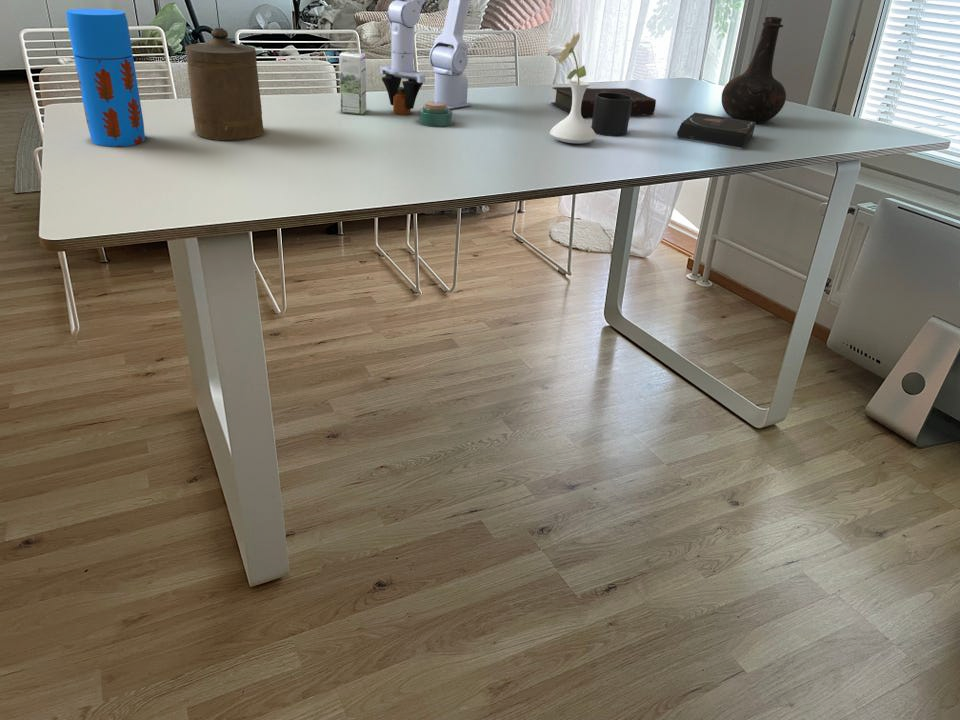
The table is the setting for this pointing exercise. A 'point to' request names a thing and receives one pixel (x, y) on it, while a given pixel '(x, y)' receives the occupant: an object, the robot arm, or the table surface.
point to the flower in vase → (574, 104)
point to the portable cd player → (716, 130)
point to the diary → (639, 100)
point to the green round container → (435, 114)
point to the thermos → (106, 76)
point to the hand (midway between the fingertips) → (401, 106)
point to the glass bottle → (757, 82)
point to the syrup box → (352, 82)
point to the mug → (611, 114)
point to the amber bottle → (400, 103)
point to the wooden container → (224, 89)
